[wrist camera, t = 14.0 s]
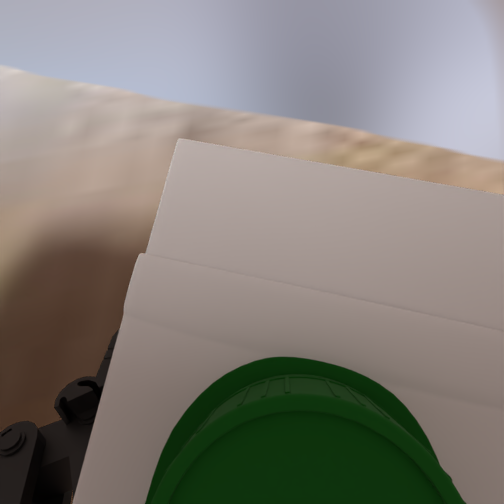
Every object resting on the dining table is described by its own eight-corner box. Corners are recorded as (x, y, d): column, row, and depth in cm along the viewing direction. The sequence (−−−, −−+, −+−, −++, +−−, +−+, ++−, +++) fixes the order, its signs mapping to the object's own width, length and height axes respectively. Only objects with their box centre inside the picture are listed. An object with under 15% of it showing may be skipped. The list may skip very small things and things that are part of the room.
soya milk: (212, 393, 24) (-111, 688, 4) (245, 255, 25) (113, 20, 6) (352, 429, 23) (750, 1039, 3) (377, 283, 24) (749, 106, 5)
